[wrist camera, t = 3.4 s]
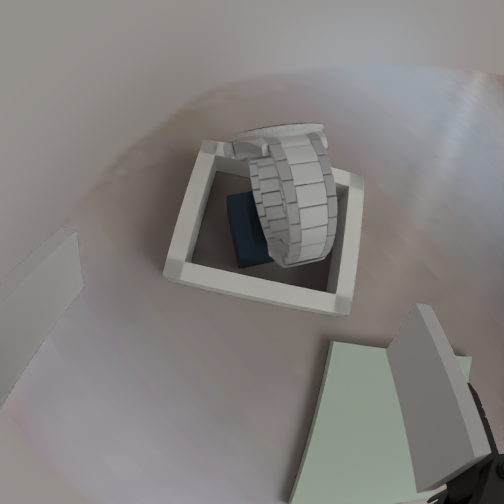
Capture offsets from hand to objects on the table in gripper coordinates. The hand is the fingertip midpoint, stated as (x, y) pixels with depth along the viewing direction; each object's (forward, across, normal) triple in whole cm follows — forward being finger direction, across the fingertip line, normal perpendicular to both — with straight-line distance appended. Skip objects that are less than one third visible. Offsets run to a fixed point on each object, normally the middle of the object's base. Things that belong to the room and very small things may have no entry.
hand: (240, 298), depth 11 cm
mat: (+2, +14, -13) cm, 19 cm away
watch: (+12, +1, -3) cm, 13 cm away
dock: (+12, +1, -3) cm, 13 cm away
